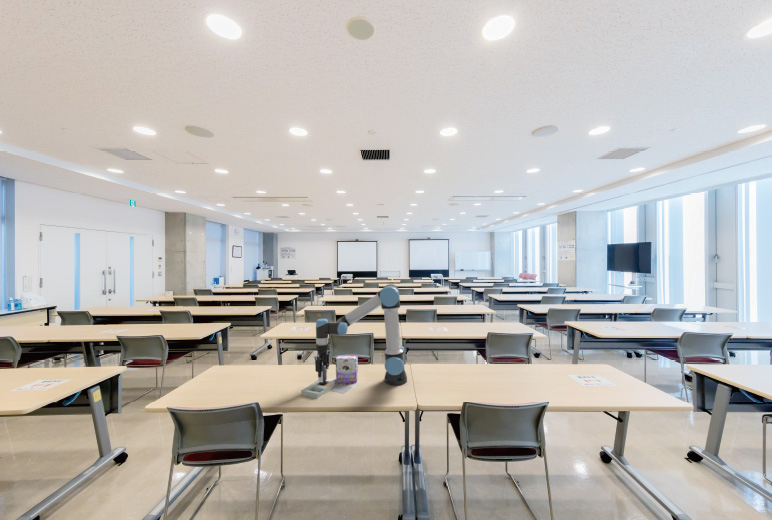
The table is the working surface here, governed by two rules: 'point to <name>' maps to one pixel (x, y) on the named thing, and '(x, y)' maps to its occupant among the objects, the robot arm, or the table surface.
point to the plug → (323, 376)
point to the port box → (317, 389)
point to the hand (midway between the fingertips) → (322, 380)
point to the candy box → (347, 369)
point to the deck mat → (341, 389)
